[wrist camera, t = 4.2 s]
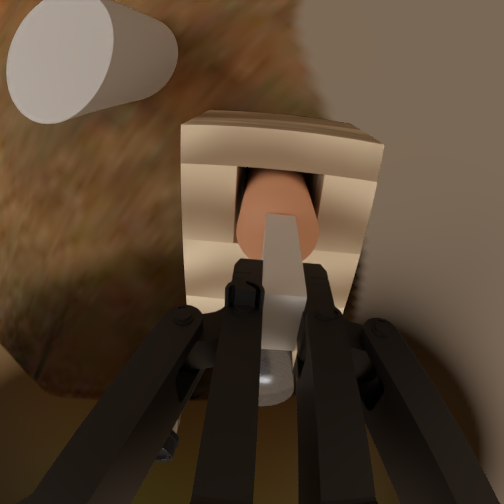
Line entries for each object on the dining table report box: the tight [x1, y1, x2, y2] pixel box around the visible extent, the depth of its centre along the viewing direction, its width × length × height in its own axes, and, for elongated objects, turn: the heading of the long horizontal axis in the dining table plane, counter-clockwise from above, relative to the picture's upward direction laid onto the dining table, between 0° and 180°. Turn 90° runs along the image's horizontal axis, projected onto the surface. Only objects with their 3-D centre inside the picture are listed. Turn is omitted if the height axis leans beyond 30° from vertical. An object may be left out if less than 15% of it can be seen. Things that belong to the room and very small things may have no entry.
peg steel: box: [258, 349, 294, 406], centre depth 23 cm, size 4×4×9 cm
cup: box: [6, 0, 178, 124], centre depth 17 cm, size 8×8×12 cm
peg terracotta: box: [236, 167, 319, 261], centre depth 21 cm, size 4×4×9 cm
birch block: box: [181, 110, 385, 367], centre depth 26 cm, size 20×12×9 cm, turn 176°
